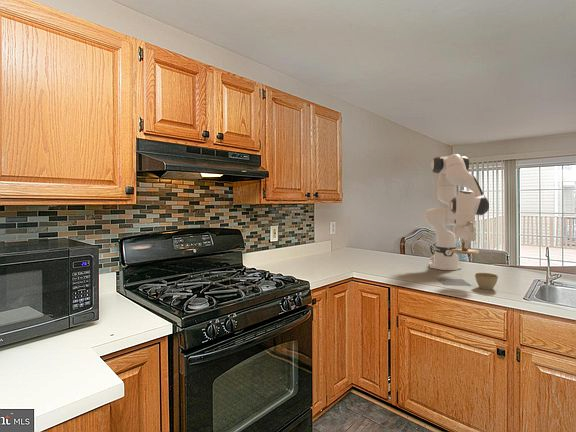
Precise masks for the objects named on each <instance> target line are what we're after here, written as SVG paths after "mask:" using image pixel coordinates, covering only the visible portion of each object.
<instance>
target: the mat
mask: <svg viewBox="0 0 576 432" xmlns="http://www.w3.org/2000/svg"><path fill="white" fill-rule="evenodd" d="M436 280H437V281H438V282H439V283H440V284H442V285H443V286H459V287H460V286H462V287H463V286H465V287H472V286H473V285H472V284H470V283H469V282H468V281H466V280H464V279H463V278H436Z"/></svg>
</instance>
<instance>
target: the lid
mask: <svg viewBox="0 0 576 432" xmlns="http://www.w3.org/2000/svg"><path fill="white" fill-rule="evenodd" d="M464 245H465V243H462V246H461V248H456V249H452V250H451V252H454V253H456V254H460V255H479V254H480V250H477V249H469V248H468V249H467V248H464Z"/></svg>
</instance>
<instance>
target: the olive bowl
mask: <svg viewBox="0 0 576 432" xmlns="http://www.w3.org/2000/svg"><path fill="white" fill-rule="evenodd" d="M474 277H475V281H476V283H477V285H478V287H479V289H481V290H487V291H491V290H493V289H494V287H495V286H496V285H497V282H498V278H499V276H498V274H494V273H491V272H490V273H489V272H477V273H476V272H475V273H474Z"/></svg>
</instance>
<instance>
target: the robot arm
mask: <svg viewBox="0 0 576 432" xmlns="http://www.w3.org/2000/svg"><path fill="white" fill-rule="evenodd" d="M470 165H471V162H470V159H469V158H468V157H467V156H463V155H462V156H461V155H460V154H458V153H457V154H456V153H453V154H450V155H447V156H435V157H433V159H432V161H431V163H430V168H431V171H432V172H433V173H434V174H438V179H437V187H436V189H437V190H436V192H437V193H436V197H437V200H438V201H439V202H441V203H443V204H444V205H447V207H434V208H433V207H432V208H428V209H427V210H425V211H426V212H425V213H424V220H425V222H426V223H427V224H428V225H429V226H431V228H432V229H433V230H434V232H435V238H436V239H435V241H436V245H435V249H434V250H435V253H434V254H433V255H432V256H430V261H429V262H428V264H429V265H428V266H429V268H431V269H437V270H443V271H455V270H456V271H457V270H459V269H460V270H461V269H462V267H461V266H460V263H459V261H460V260H459V255H458V253H454V252H451V250H452V249H457V247H456V240H457V238H458V239H460V244H461V247H462V243H465V245H464V248H467V249H469V248H470V243H471V242H476V239H477V233H476V232H477V229H476V226H475V225H476V216H483V215H485V214H486V213H488V212H489V210H490V201H489V200H488V198H487V197H486V196H485V194H484V192H483V190H482V188H481V185H480V183H479V181H478V180H477V177H476V176H475V175H473V174H471V173H470V172H469V171H468V170H469V169H470ZM457 186H461V187H463V188H466V189H462V190H459V191H457ZM445 226H454V232H453V231H451V230H450V229H447V228H446V227H445Z"/></svg>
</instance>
